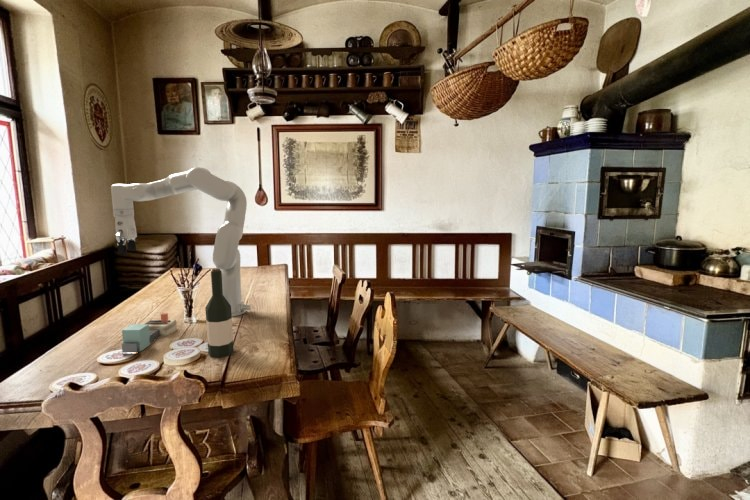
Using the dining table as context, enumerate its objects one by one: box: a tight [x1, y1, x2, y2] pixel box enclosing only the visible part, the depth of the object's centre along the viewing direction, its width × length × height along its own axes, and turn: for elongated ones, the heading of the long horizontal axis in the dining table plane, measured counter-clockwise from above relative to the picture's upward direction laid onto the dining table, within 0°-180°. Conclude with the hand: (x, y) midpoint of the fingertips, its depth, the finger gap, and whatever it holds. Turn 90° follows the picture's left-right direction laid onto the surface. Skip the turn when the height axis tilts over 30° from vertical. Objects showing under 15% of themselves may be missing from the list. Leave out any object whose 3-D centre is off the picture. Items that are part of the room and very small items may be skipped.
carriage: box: [121, 323, 151, 352], centre depth 144 cm, size 6×6×8 cm
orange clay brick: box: [160, 312, 169, 322], centre depth 161 cm, size 2×1×4 cm
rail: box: [121, 329, 161, 353], centre depth 148 cm, size 5×17×4 cm, turn 1°
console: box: [144, 319, 178, 337], centre depth 161 cm, size 10×8×5 cm
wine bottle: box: [205, 267, 235, 359], centre depth 139 cm, size 8×8×30 cm
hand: (127, 252), depth 176 cm, fingers open, 9 cm apart
